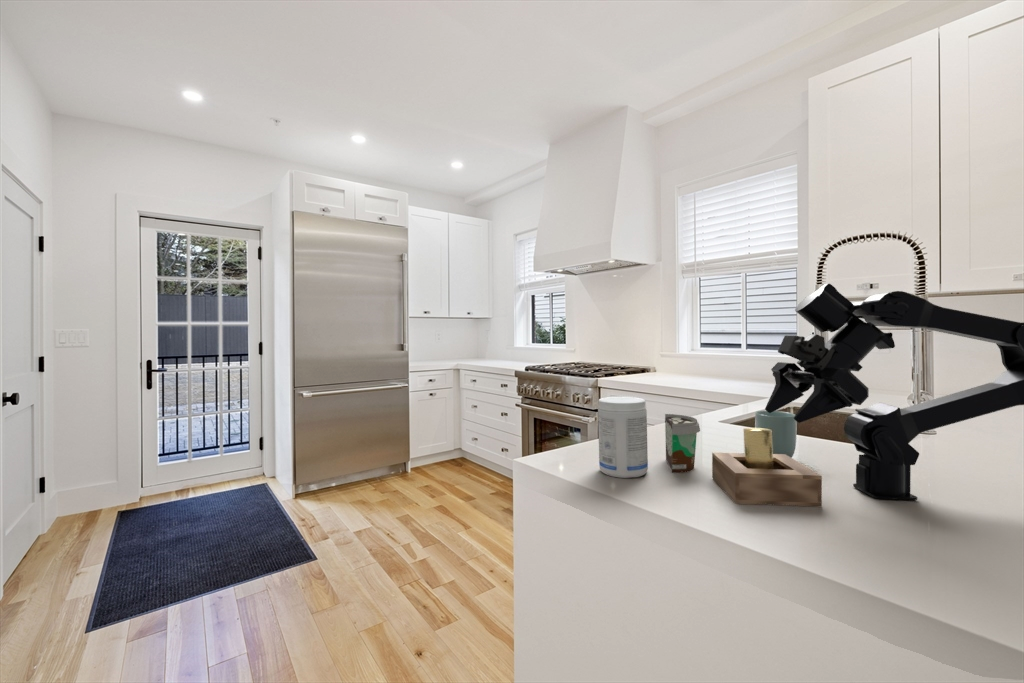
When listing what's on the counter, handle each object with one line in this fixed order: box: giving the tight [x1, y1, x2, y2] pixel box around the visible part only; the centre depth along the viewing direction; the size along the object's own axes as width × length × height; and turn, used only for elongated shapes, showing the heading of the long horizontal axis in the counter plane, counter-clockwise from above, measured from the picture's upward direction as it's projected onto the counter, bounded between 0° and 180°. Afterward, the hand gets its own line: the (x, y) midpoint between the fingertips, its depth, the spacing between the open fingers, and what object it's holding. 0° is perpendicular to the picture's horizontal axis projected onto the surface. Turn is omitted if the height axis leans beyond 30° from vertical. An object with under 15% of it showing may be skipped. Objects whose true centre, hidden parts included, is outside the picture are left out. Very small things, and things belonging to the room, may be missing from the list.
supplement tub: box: [597, 396, 649, 479], centre depth 93 cm, size 10×10×15 cm
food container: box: [664, 413, 701, 474], centre depth 96 cm, size 12×6×10 cm, turn 168°
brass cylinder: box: [743, 427, 774, 469], centre depth 81 cm, size 4×4×10 cm
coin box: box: [711, 452, 823, 507], centre depth 81 cm, size 13×13×5 cm
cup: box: [754, 410, 798, 459], centre depth 101 cm, size 8×8×10 cm
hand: (780, 415), depth 80 cm, fingers open, 9 cm apart
